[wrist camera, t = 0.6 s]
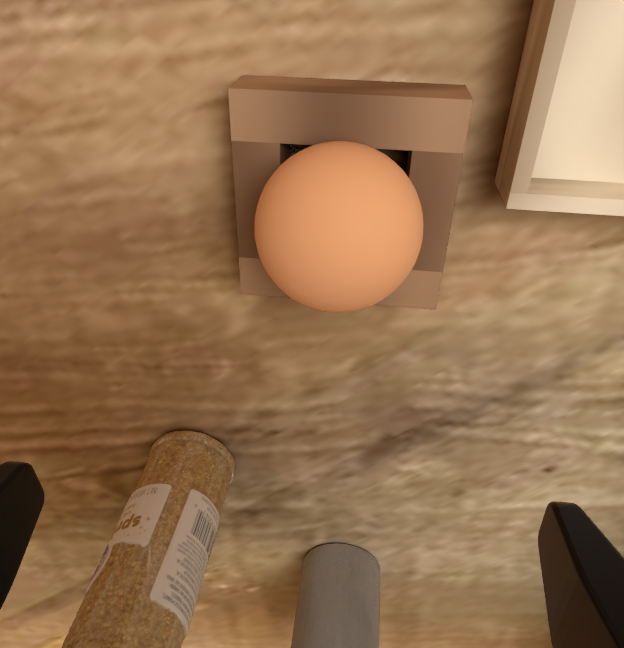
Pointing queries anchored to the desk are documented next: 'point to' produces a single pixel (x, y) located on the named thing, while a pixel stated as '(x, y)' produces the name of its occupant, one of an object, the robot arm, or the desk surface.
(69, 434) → the desk surface
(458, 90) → the brown flat square frame
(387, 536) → the desk surface
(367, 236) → the ball
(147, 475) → the sprinkles bottle
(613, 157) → the tray
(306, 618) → the grey hollow cylinder
